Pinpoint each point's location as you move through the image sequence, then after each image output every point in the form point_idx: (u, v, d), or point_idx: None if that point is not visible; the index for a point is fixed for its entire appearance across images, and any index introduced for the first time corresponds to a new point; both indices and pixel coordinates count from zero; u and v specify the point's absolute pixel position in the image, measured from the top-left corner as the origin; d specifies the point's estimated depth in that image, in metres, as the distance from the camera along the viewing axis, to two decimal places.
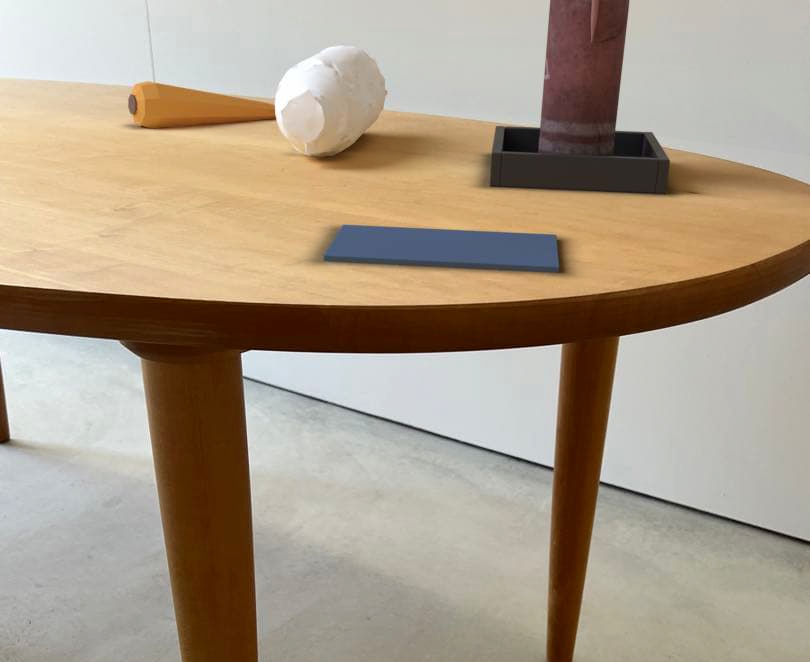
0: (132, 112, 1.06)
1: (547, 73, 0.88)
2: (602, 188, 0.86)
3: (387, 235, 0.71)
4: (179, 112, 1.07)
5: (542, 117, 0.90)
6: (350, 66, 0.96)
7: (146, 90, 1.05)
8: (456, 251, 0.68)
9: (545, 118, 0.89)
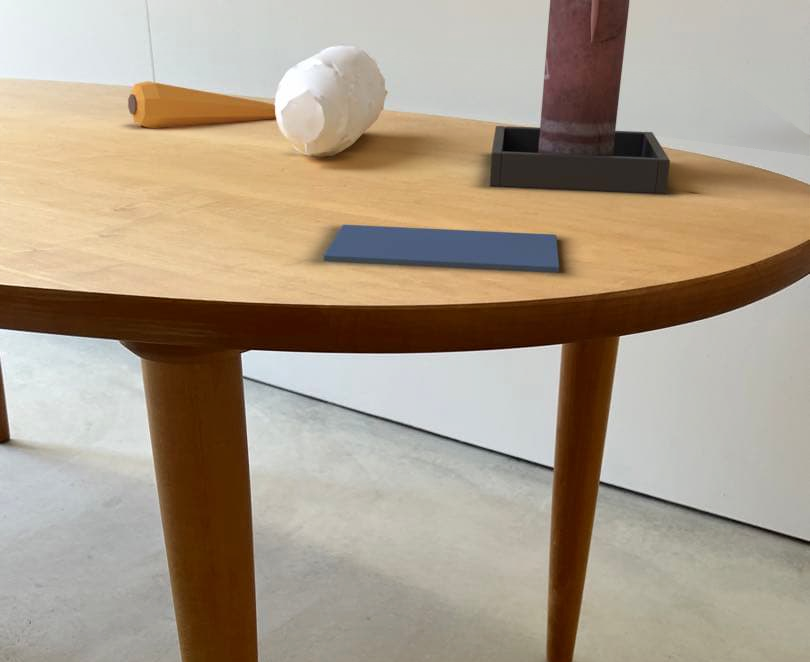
0: (132, 112, 1.06)
1: (547, 73, 0.88)
2: (602, 188, 0.86)
3: (387, 235, 0.71)
4: (179, 111, 1.07)
5: (542, 117, 0.90)
6: (350, 66, 0.96)
7: (146, 90, 1.05)
8: (456, 251, 0.68)
9: (545, 118, 0.89)
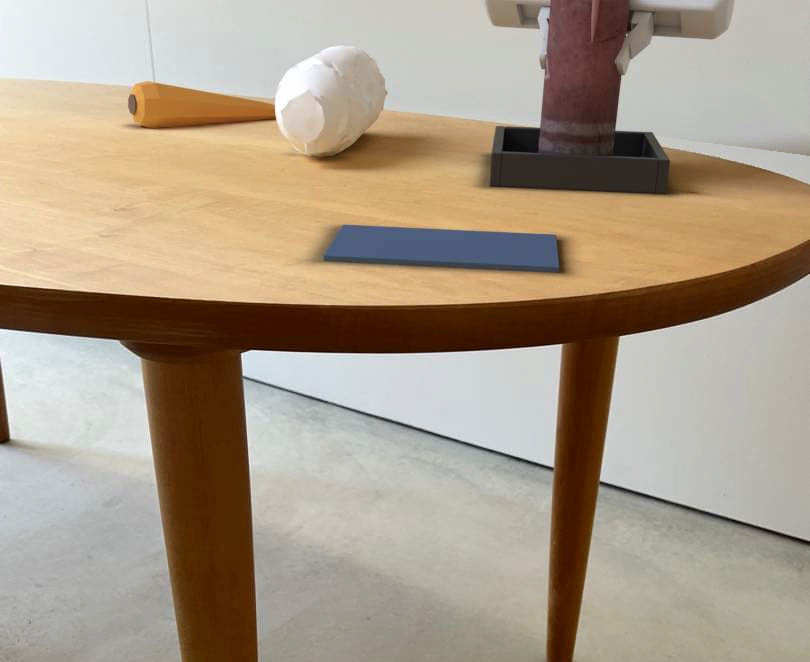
0: (132, 112, 1.06)
1: (547, 73, 0.88)
2: (602, 188, 0.86)
3: (387, 235, 0.71)
4: (179, 111, 1.07)
5: (542, 117, 0.90)
6: (350, 66, 0.96)
7: (146, 90, 1.05)
8: (456, 251, 0.68)
9: (545, 117, 0.89)
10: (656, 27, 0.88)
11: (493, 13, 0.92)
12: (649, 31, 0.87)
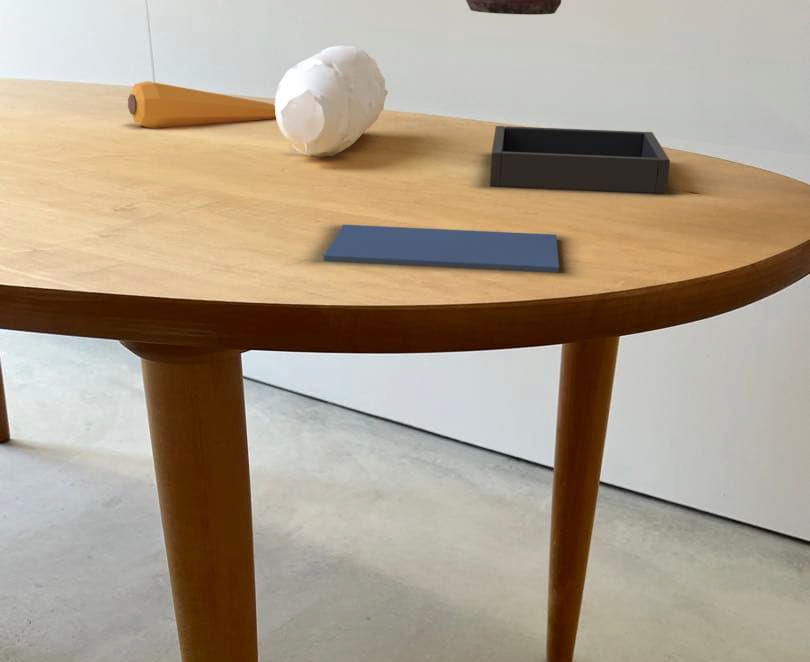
0: (132, 112, 1.06)
1: None
2: (602, 188, 0.86)
3: (387, 235, 0.71)
4: (179, 112, 1.07)
5: None
6: (350, 66, 0.96)
7: (146, 90, 1.05)
8: (456, 251, 0.68)
9: None
10: None
11: None
12: None
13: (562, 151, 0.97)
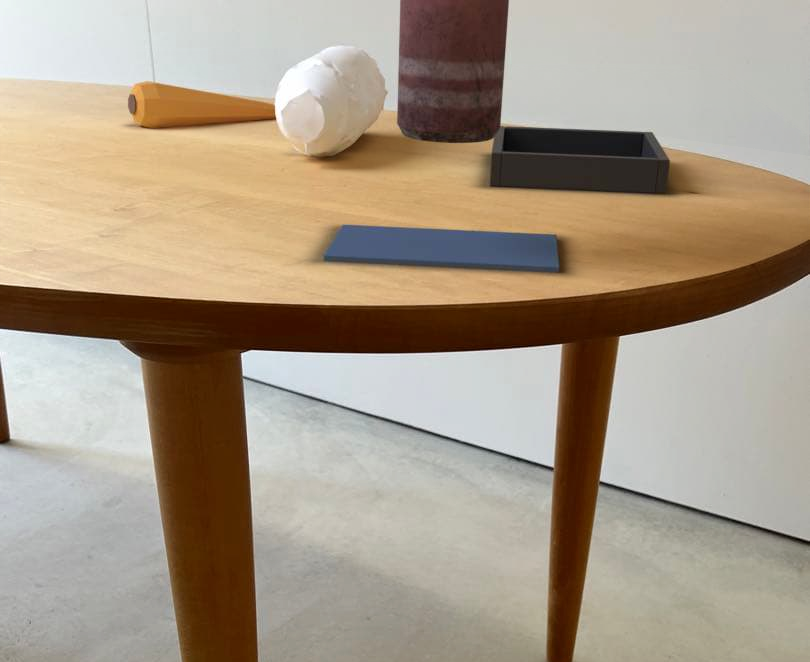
0: (132, 112, 1.06)
1: None
2: (602, 188, 0.86)
3: (387, 235, 0.71)
4: (179, 111, 1.07)
5: (400, 55, 0.63)
6: (350, 66, 0.96)
7: (146, 90, 1.05)
8: (456, 251, 0.68)
9: (403, 55, 0.63)
10: None
11: None
12: None
13: (562, 151, 0.97)
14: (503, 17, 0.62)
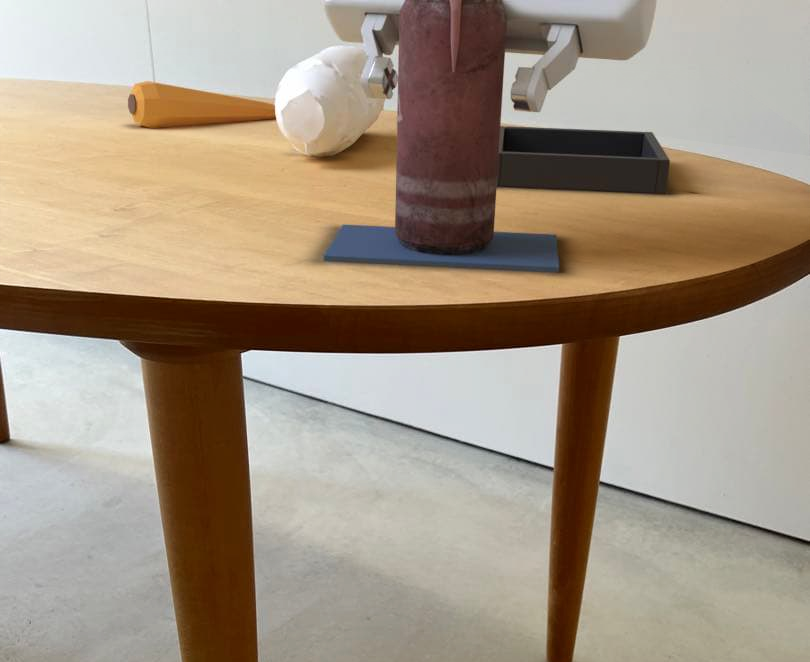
0: (132, 112, 1.06)
1: (399, 114, 0.65)
2: (602, 188, 0.86)
3: (387, 235, 0.71)
4: (179, 111, 1.07)
5: (397, 171, 0.67)
6: (350, 66, 0.96)
7: (146, 90, 1.05)
8: None
9: (400, 173, 0.66)
10: None
11: (337, 24, 0.69)
12: (573, 51, 0.63)
13: (562, 151, 0.97)
14: (495, 138, 0.65)
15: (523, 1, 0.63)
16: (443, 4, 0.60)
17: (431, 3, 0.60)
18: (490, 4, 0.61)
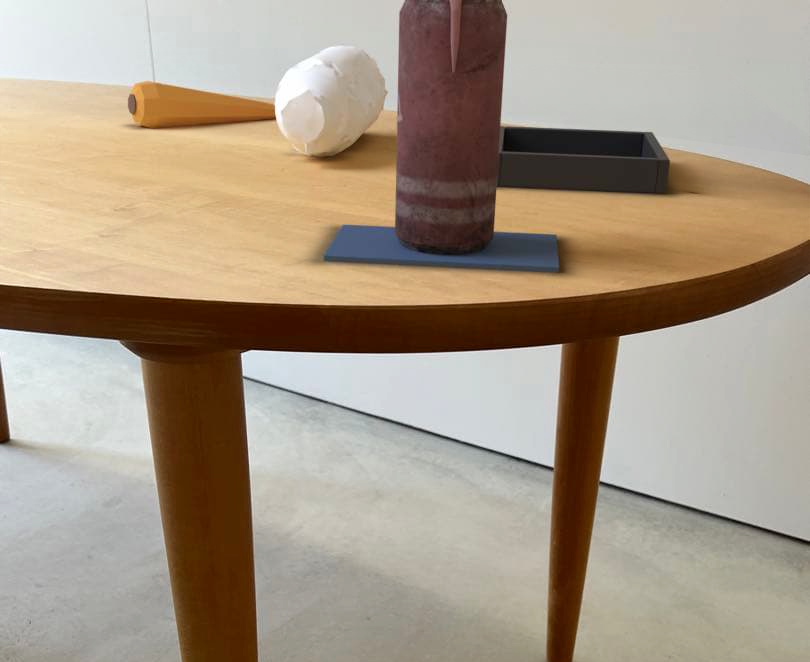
0: (132, 112, 1.06)
1: (399, 114, 0.65)
2: (602, 188, 0.86)
3: (387, 235, 0.71)
4: (179, 111, 1.07)
5: (397, 171, 0.67)
6: (350, 66, 0.96)
7: (146, 90, 1.05)
8: None
9: (400, 173, 0.66)
10: None
11: None
12: None
13: (562, 151, 0.97)
14: (495, 138, 0.65)
15: None
16: (443, 4, 0.60)
17: (431, 3, 0.60)
18: (490, 4, 0.61)
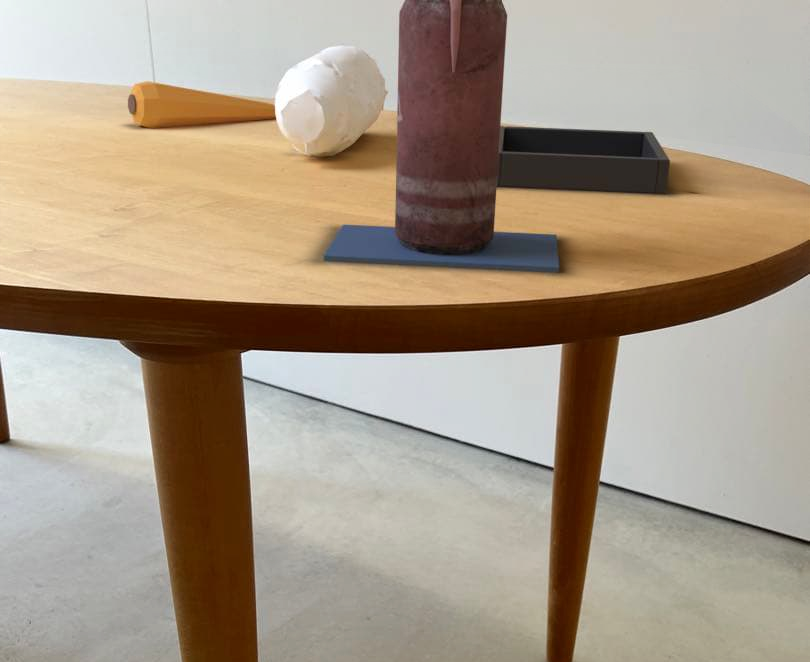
0: (132, 112, 1.07)
1: (399, 114, 0.65)
2: (602, 188, 0.86)
3: (387, 235, 0.71)
4: (179, 112, 1.07)
5: (397, 171, 0.67)
6: (350, 66, 0.96)
7: (146, 90, 1.05)
8: None
9: (400, 173, 0.66)
10: None
11: None
12: None
13: (562, 151, 0.97)
14: (495, 138, 0.65)
15: None
16: (443, 4, 0.60)
17: (431, 3, 0.60)
18: (490, 4, 0.61)
